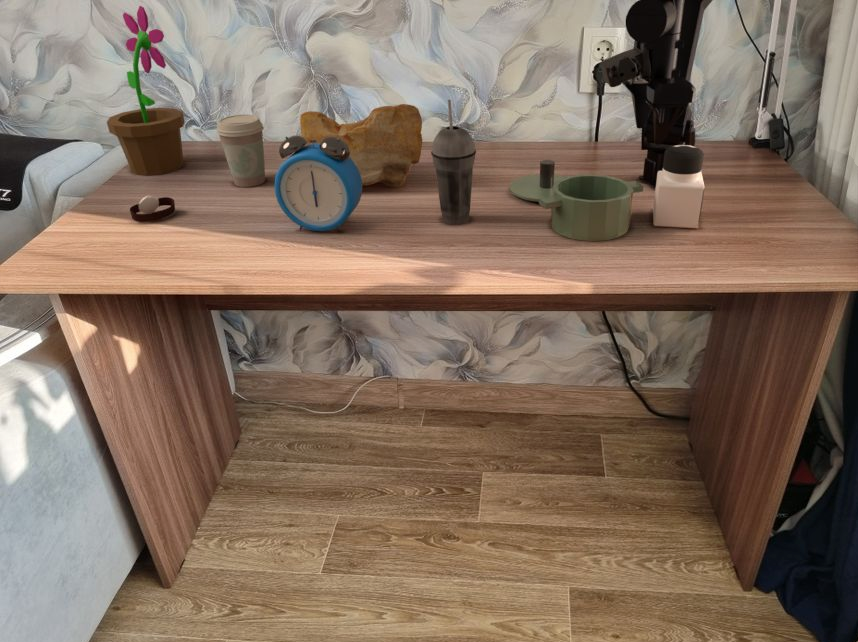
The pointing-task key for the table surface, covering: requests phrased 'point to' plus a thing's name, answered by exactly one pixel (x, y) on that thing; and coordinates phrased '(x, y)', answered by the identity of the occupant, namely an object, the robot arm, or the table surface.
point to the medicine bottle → (679, 188)
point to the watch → (152, 209)
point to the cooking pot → (591, 206)
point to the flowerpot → (147, 112)
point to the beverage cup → (454, 171)
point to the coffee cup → (243, 148)
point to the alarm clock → (317, 183)
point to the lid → (536, 183)
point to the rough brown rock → (374, 141)
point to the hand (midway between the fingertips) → (648, 136)
